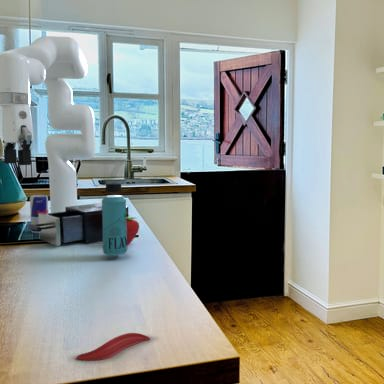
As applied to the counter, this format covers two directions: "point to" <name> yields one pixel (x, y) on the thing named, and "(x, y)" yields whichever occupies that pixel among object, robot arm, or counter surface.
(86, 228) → the cabinet
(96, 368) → the counter surface
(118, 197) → the beverage bottle
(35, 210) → the energy drink
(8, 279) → the counter surface
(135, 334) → the cayenne pepper
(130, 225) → the strawberry
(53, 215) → the drawer
